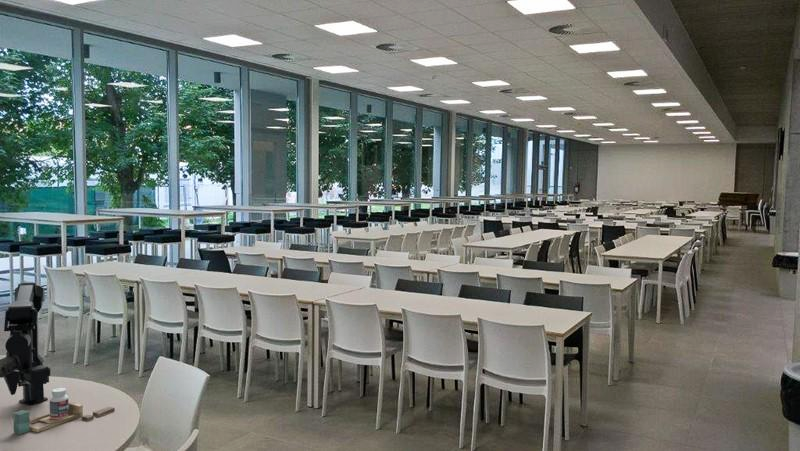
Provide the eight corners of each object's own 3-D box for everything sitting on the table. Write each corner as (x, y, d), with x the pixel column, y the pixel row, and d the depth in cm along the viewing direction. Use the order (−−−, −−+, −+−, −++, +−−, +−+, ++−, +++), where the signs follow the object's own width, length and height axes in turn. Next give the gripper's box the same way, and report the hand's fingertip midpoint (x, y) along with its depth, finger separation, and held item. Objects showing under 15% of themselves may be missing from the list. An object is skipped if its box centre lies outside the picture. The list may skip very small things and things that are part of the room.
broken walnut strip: (81, 419, 202) (81, 416, 202) (108, 409, 211) (108, 406, 211) (88, 420, 201) (88, 417, 201) (114, 410, 210) (114, 408, 210)
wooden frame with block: (7, 430, 192) (7, 411, 192) (64, 410, 209) (64, 392, 208) (26, 436, 188) (26, 416, 188) (82, 415, 205) (82, 397, 205)
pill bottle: (60, 420, 199) (59, 393, 199) (46, 419, 201) (45, 391, 200) (72, 414, 205) (71, 388, 204) (58, 413, 206) (58, 386, 205)
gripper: (-26, 348, 187) (-24, 399, 188) (14, 357, 179) (16, 411, 180) (12, 340, 197) (13, 389, 198) (51, 348, 189) (52, 399, 190)
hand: (22, 397), depth 191 cm, fingers open, 9 cm apart
